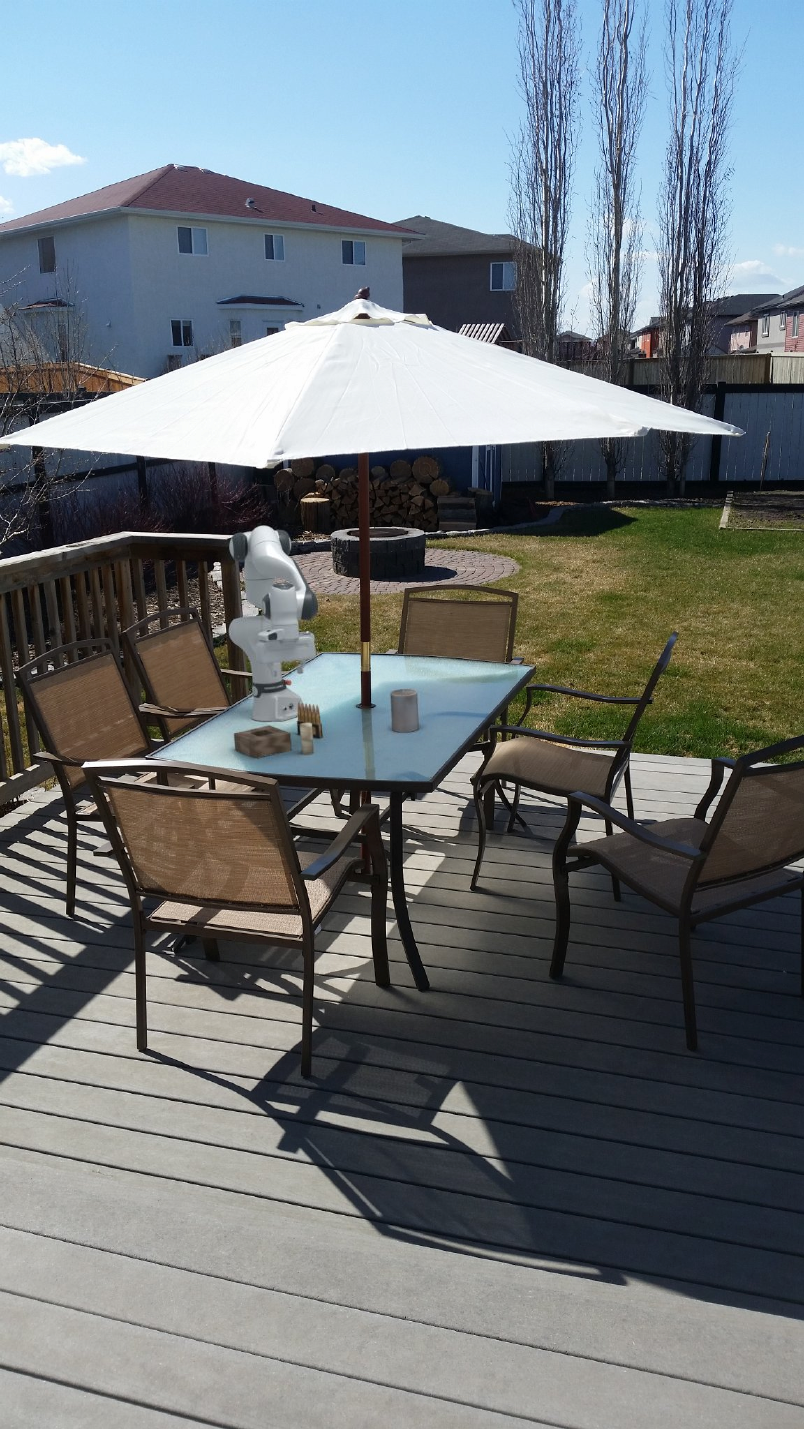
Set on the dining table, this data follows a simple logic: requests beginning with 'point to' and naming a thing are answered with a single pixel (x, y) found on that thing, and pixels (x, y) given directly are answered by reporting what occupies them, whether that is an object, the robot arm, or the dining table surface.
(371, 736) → the dining table surface
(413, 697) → the pillar candle
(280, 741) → the socket block
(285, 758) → the dining table surface
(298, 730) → the ammunition clip
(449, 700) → the dining table surface
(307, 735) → the peg
